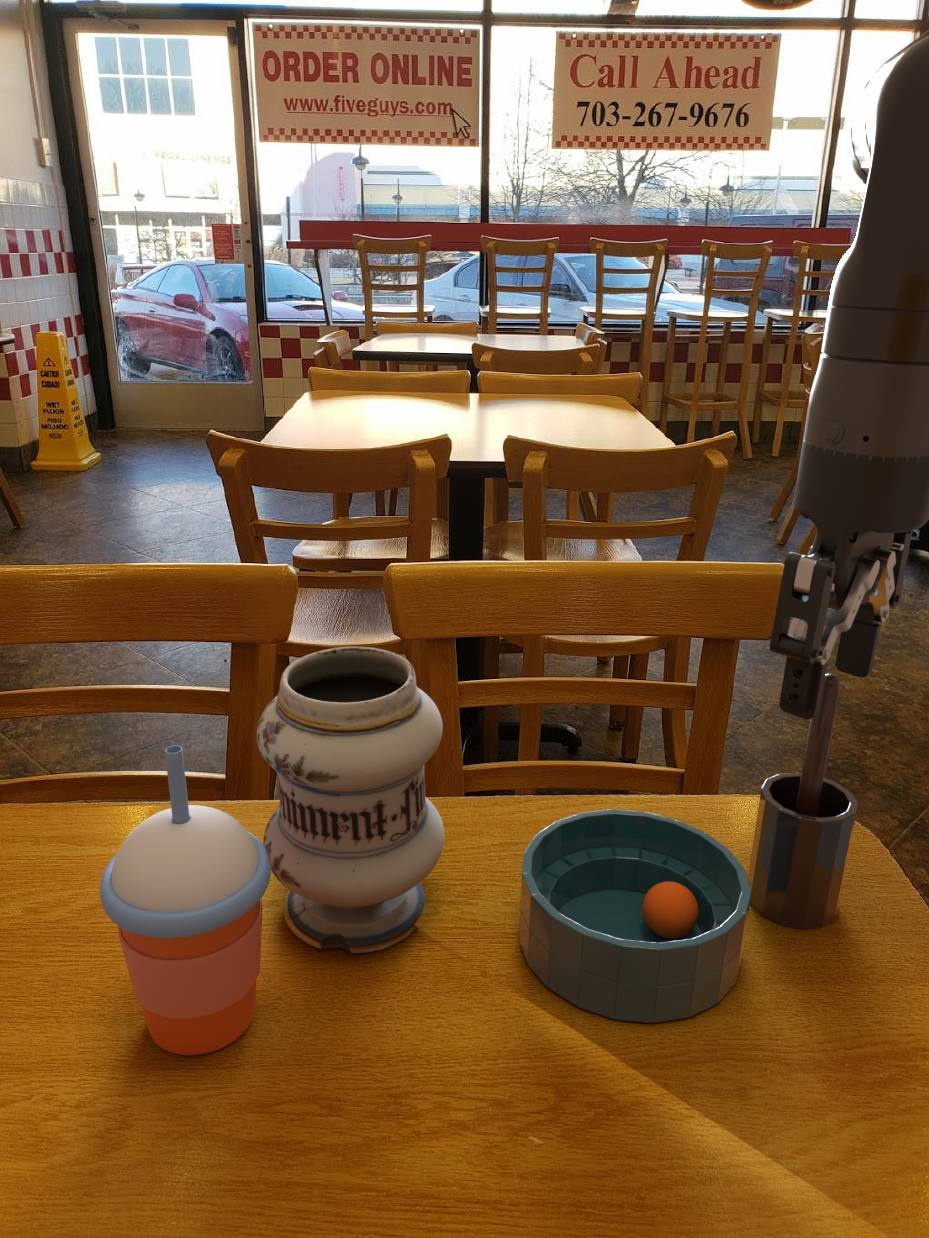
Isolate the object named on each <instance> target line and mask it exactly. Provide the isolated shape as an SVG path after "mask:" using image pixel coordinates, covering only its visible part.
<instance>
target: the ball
mask: <svg viewBox="0 0 929 1238" xmlns="http://www.w3.org/2000/svg"><path fill="white" fill-rule="evenodd" d="M643 916H644V919H645V921H646V923H647V925H648V926H649V928H650V929H651V930H652V931H653V932H655V933H656V934H657V935H659V936H661V937H664V938H669V939H675V938H680V937H683V936H685V935H686V934H688V933H689V932H690V931H691V930H692V929H693V928H694V926H695V924H696V922H697V919H698V905H697V901H696V899H695V897H694V895H693V894H692V893H691V891H690V890H689V889H687V888H686V887H685V886H683V885H681V884H679V883H676V882H671V881H667V882H661V883H658V884H656V885H655V886H653V887H652V888H651V889H650V890H649V891H648V892H647V894H646V896H645V898H644V901H643Z"/></svg>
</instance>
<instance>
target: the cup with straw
mask: <svg viewBox="0 0 929 1238" xmlns="http://www.w3.org/2000/svg"><path fill="white" fill-rule="evenodd" d="M164 755H165V764H166V773H167V783H168V790H169V798H170V799H169V800H170V808H167V809H164V810H161V811H159V812H157V813H154V814H152V815H151V816H149V817H147V818H146V819H145V820H143V821H142V822H140V823H139V824H138V825H137V826H136V827H134V828H133V830H131V831H130V833H129V834H128V835H127V836H126V837H125V839H124V840H123V842H122V843H121V845H120V846H119V848H118V851H117V852H116V854H115V855H114V856H113V857H111V859H110V861H109V862H108V864H107V865H106V867H105V869H104V871H103V873H102V877H101V879H100V885H99V897H100V902H101V906H102V908H103V909H104V910H103V911H104V912H105V913H106V915H107V916H108V918H109V919H110V920H111V922H113V923H114V924H115V925H116V926H117V932H118V938H119V942H120V945H121V949H122V952H123V956H124V959H125V964H126V967H127V971H128V974H129V978H130V982H131V984H132V990H133V993H134V996H135V998H136V1000H137V1001H138V1003H139V1004H140V1005H141V1009H142V1012H143V1015H144V1020H145V1024H146V1027H147V1030H148V1033H149V1035H150V1037H151V1039H152V1041H153V1042H154V1043H155V1044H156V1045H157V1046H158V1047H160V1048H161V1049H162V1050H164V1051H165V1052H168V1053H171V1054H175V1055H180V1056H199V1055H206V1054H209V1053H213V1052H215V1051H218V1050H220V1049H223V1048H225V1047H227V1046H228V1045H230V1044H231V1043H233V1042H234V1041H236V1040H237V1039H238V1038H240V1037H241V1036H242V1035H243V1034H244V1033H245V1032H246V1031H247V1029H248V1028H249V1027H250V1025H251V1023H252V1021H253V1019H254V1015H255V1011H256V1002H257V1001H256V1000H257V979H258V977H259V974H260V970H261V956H262V955H261V954H262V933H263V932H262V931H263V930H262V927H263V900H262V898H263V896H264V895H265V893H266V891H267V889H268V887H269V884H270V881H271V876H272V871H271V863H270V858H269V855H268V852H267V850H266V848H265V847H264V845H263V841H261V840H260V839H259V838H258V837H257V836H255V834H253V833H252V832H250V831H248V830H247V828H246V827H245V826H244V825H243V824H242V823H241V822H240V821H239V820H238V819H236V818H235V817H233V816H232V815H230V814H229V813H227V812H224V811H223V810H220V809H219V808H218V809H217V808H214V807H210V806H206V805H197V804H189V799H188V789H187V780H186V771H185V761H184V751H183V747H182V746H181V745H176V744H174V745H170V746H167V747H166V748H164Z"/></svg>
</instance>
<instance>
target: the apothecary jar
mask: <svg viewBox="0 0 929 1238" xmlns="http://www.w3.org/2000/svg"><path fill="white" fill-rule="evenodd" d="M279 682H280V683H279V690H278V693H277V695H276V696H275V697H274V698H273V699H272V700H271V701H270V702H269V703H268V704H267V705H266V707H265V708H264V709H263V712H262V713H261V715H260V717H259V720H258V723H257V726H256V743H257V747H258V750H259V752H260V754H261V755H260V756H262V758H263V759H264V761H265V762H266V764H268V766H270V768H272V770H273V771H275V772H276V773H277V774H278V775H277V776H278V790H279V806H278V807H277V808H276V809H275V810H274V812H273V813H272V815H271V816H270V818H269V820H268V821H267V823H266V827H265V829H264V833H263V839H262V844H263V845H264V847H265V848H266V850H267V852H268V855H269V858H270V863H271V874H272V875H273V876H274V877H275V878H276V879H277V880H278V881H279V882H280V883H281V885H283V886H284V887H285V888H287V889H288V892H287V894H286V896H285V899H284V903H283V915H284V916H283V917H284V920H285V923H286V924H287V926H288V928H289V930H290V931H291V932H292V933H293V934H294V935H295V937H297V938H298V939H299V940H301V941H302V942H304V944H307V945H309V946H311V947H313V948H315V949H319V950H332V949H343V950H345V951H346V952H348V953H349V954H353V955H354V954H355V955H356V954H366V953H373V952H377V951H382V950H384V949H387V948H389V947H391V946H394V945H396V944H398V943H400V942H402V941H403V940H405V939H406V938H408V937H409V936H410V935H412V934H413V933H414V932H415V931H416V930H417V929H418V926H417V925H416V923H417V921H418V920H419V918H420V917H421V915H422V914H423V910H424V909H425V890H424V887H423V884H422V883H421V882H422V881H424V880H425V879H426V878H427V877H428V876H429V874H431V872H432V871H433V870H434V868H435V867H436V865H437V864H438V862H439V860H440V858H441V855H442V853H443V850H444V845H445V828H444V824H443V820H442V817H441V815H440V813H439V812H438V810H437V808H436V807H435V805H434V804H433V802H432V801H431V800H430V799H428V797H426V782H425V780H426V779H425V764H426V763H427V762H428V761H429V760H430V759H431V758H432V757H433V756H434V755H435V753H436V752H437V750H438V748H439V746H440V744H441V741H442V737H443V731H444V729H443V727H444V726H443V719H442V715H441V712H440V710H439V708H438V706H437V705H436V703H435V702H434V701H433V700H432V698H431V697H430V696H429V695H428V694H427V693H426V692H424V690H422V689H421V688H419V687H418V686H417V677H416V672H415V669H414V666H413V665H412V663H411V662H410V661H409V660H408V659H406V658H405V657H404V656H402V655H400V654H398V653H395V652H392V651H389V650H386V649H380V648H376V647H369V646H368V647H367V646H342V647H340V646H339V647H334V648H327V649H322V650H319V651H316V652H312V653H310V654H306V655H304V656H302V657H300V658H298V659H296V660H294V661H293V662H292V663H290V664H289V665H288V666H287V667H286V668H285V669H284V671H283V672H282V674H281V677H280V681H279Z"/></svg>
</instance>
